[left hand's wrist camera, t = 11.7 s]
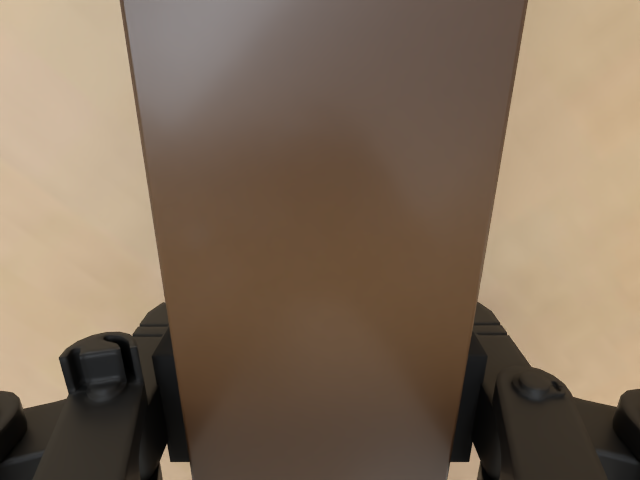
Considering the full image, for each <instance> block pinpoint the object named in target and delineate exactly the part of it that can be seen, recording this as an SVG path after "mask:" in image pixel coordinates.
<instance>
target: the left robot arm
mask: <svg viewBox="0 0 640 480" xmlns="http://www.w3.org/2000/svg"><path fill="white" fill-rule="evenodd" d="M59 360H60V364H61V368H62V371H63V375H64V378H65V382H66V385H67V389H68V393H69V395H68V397H67V399H64V400H60V401H57V402H53V403H48V404H44V405H39V406H34V407H30V408H25V409H23V408H22V405H21V402H20V399H19V397H17V396H16V395H15V394H14V393H12V392H6V391H0V480H163V479H162V472H161V466H160V459H161V457H162V454H163V452H164V449H165V447H166V444H167V445H168V451H169V456H170V462H190V460H189V454H188V447H187V441H186V434H185V427H184V421H183V414H182V408H181V401H180V394H179V388H178V381H177V375H176V368H175V361H174V355H173V348H172V342H171V335H170V328H169V322H168V315H167V309H166V303H162V304H160V305H159V306H157V307H156V308H154V309H153V310H151V311H150V312H148V313H147V315H146V316H145V318H144V319H143V321H142V322H141V323H140V327H138V328H137V329H136V330H135V332H134V333H133V337H132V336H131V335H130V334H126V333H122V332H105V333H100V334H96V335H91V336H89V337H87V338H84V339H82V340H79V341H77V342H76V343H74V344H73V345H71V346H70V347H68V348H67V349H66V350H65V351H64V352H63V353H62V354H61V356H60V357H59ZM472 442H473V444H474V446H475V448H476V451H477V453H478V456H479V458H480V466H479V471H478V477H477V480H640V389H635V390H628V391H626V392H625V393H624V394H623V395H621V397H620V400H619V403H618V406H617V407H614V406H609V405H605V404H600V403H595V402H591V401H586V400H582V399H579V398H575V397H573V396H572V394H571V392H570V391H569V390H568V388H567V387H566V385H565V384H564V383H563V382H561V381H560V380H559V379H557V378H556V377H555V376H553V375H551V374H549V373H547V372H545V371H543V370H541V369H537V368H533V367H531V366H530V364H529V363H528V361H527V360H526V359H525V357H524V356H523V354H522V353H521V352H520V350H519V349H518V347H517V346H516V345H515V343H514V342H513V341H512V339H511V338H510V336H509V335H507V332H506V331H505V329H504V328H503V327H502V325H500V322H499V321H498V320H497V318H496V317H495V315H494V314H493V313H492V311H490V310H489V309H487V308H486V307H485V306H483V305H482V304H480V303H479V302H477V305H476V311H475V317H474V323H473V329H472V335H471V341H470V347H469V353H468V359H467V365H466V371H465V377H464V383H463V388H462V394H461V400H460V406H459V412H458V418H457V424H456V430H455V436H454V442H453V448H452V454H451V460H450V462H469V459H470V453H471V448H472Z"/></svg>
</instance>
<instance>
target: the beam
mask: <svg viewBox="0 0 640 480" xmlns="http://www.w3.org/2000/svg"><path fill="white" fill-rule="evenodd" d="M527 3H528V0H120V5H121V12H122V18H123V25H124V31H125V38H126V45H127V51H128V58H129V64H130V71H131V78H132V84H133V91H134V97H135V104H136V111H137V117H138V124H139V130H140V137H141V144H142V150H143V157H144V163H145V170H146V177H147V183H148V190H149V196H150V203H151V210H152V216H153V223H154V229H155V236H156V243H157V249H158V256H159V262H160V269H161V276H162V282H163V289H164V295H165V302H166V309H167V315H168V322H169V328H170V335H171V342H172V348H173V355H174V361H175V368H176V375H177V381H178V388H179V394H180V401H181V408H182V414H183V421H184V427H185V434H186V441H187V447H188V454H189V460H190V467H191V474H192V480H447V477H448V472H449V466H450V460H451V454H452V448H453V442H454V436H455V430H456V424H457V418H458V412H459V406H460V400H461V394H462V388H463V383H464V377H465V371H466V365H467V359H468V353H469V347H470V341H471V335H472V329H473V323H474V317H475V311H476V305H477V299H478V294H479V288H480V282H481V276H482V270H483V264H484V258H485V252H486V246H487V240H488V234H489V228H490V222H491V216H492V210H493V205H494V199H495V193H496V187H497V181H498V175H499V169H500V163H501V157H502V151H503V145H504V139H505V133H506V127H507V121H508V116H509V110H510V104H511V98H512V92H513V86H514V80H515V74H516V68H517V62H518V56H519V50H520V44H521V38H522V33H523V27H524V21H525V15H526V9H527Z"/></svg>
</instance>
